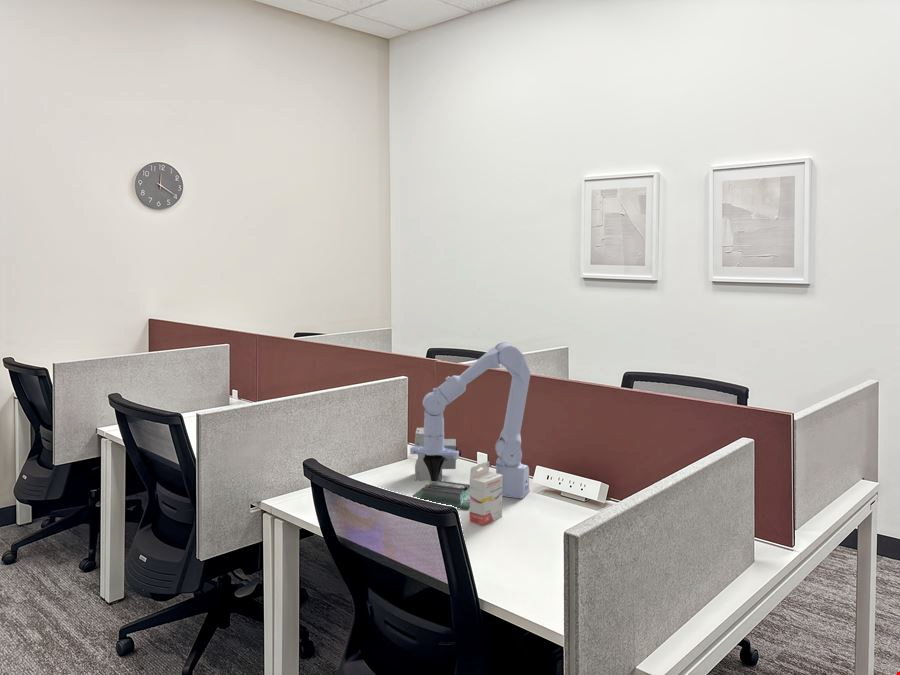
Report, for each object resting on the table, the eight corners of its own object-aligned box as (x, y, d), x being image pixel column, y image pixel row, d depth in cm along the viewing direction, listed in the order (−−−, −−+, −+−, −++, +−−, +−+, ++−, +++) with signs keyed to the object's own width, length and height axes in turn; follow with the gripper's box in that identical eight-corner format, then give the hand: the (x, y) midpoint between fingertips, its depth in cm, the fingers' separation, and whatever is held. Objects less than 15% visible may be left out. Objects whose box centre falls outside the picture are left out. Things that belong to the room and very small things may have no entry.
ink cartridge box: (484, 526, 181) (484, 471, 179) (468, 522, 184) (468, 467, 182) (503, 516, 188) (503, 463, 186) (488, 512, 191) (488, 460, 189)
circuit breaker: (461, 480, 218) (460, 433, 216) (415, 480, 218) (414, 433, 216) (461, 473, 225) (461, 427, 223) (416, 473, 225) (416, 427, 223)
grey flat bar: (466, 488, 201) (466, 485, 201) (462, 491, 198) (462, 488, 198) (432, 483, 205) (432, 480, 205) (428, 486, 202) (428, 483, 202)
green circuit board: (483, 494, 205) (483, 481, 204) (467, 510, 193) (467, 496, 192) (427, 487, 211) (427, 474, 211) (408, 501, 200) (408, 487, 199)
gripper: (405, 435, 200) (406, 481, 202) (452, 440, 195) (452, 487, 196) (415, 429, 207) (416, 474, 208) (461, 434, 201) (462, 479, 203)
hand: (434, 480), depth 203 cm, fingers closed
